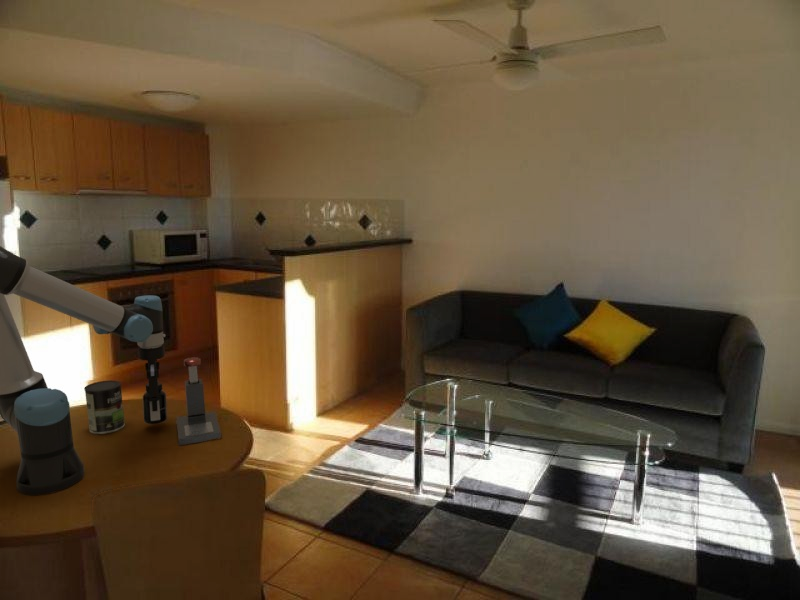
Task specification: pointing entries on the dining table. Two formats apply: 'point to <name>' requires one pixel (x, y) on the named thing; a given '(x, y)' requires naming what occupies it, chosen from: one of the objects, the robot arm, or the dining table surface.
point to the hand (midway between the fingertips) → (155, 415)
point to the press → (196, 418)
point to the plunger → (192, 368)
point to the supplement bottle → (161, 404)
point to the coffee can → (104, 407)
